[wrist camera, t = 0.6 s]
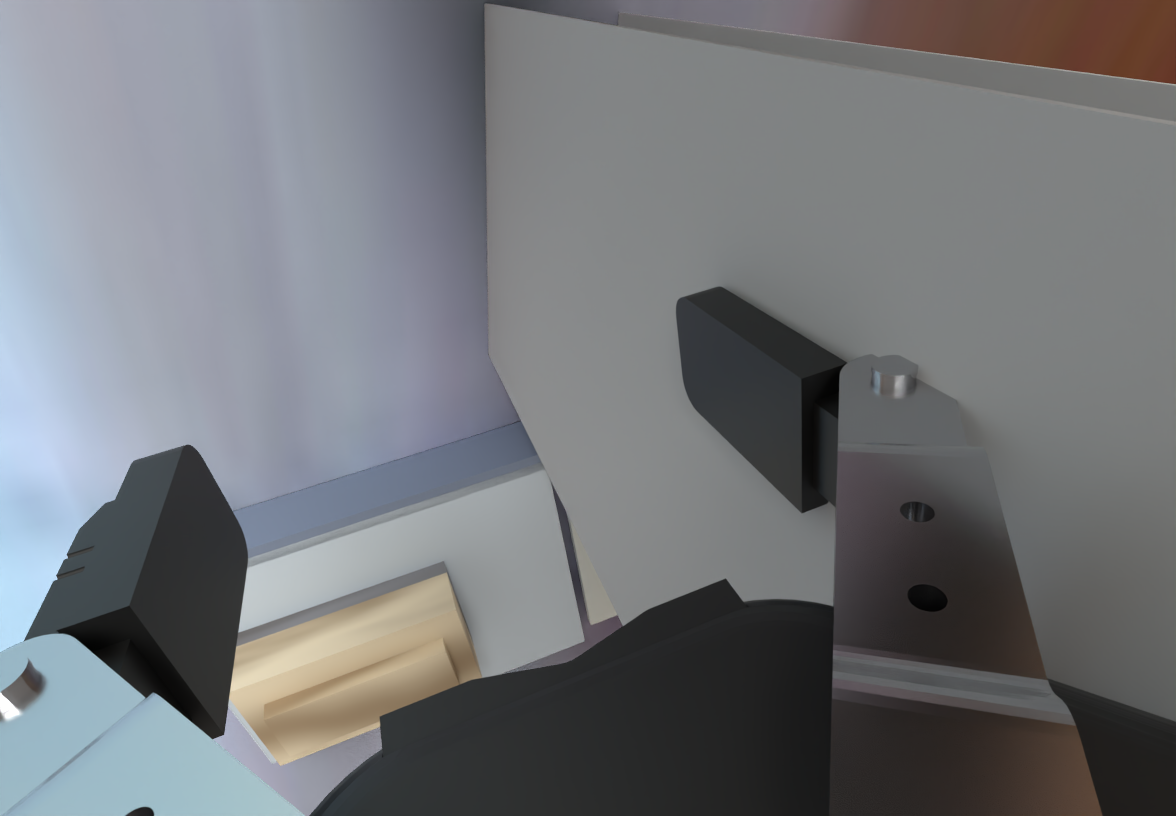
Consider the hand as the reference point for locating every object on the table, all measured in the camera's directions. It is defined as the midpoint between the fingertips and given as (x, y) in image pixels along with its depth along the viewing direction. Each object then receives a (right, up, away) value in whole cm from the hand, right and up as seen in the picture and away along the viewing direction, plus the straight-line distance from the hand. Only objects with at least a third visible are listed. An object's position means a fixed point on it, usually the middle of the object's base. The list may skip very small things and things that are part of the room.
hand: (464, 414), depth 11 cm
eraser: (-9, -11, +23) cm, 27 cm away
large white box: (-8, -9, +26) cm, 28 cm away
